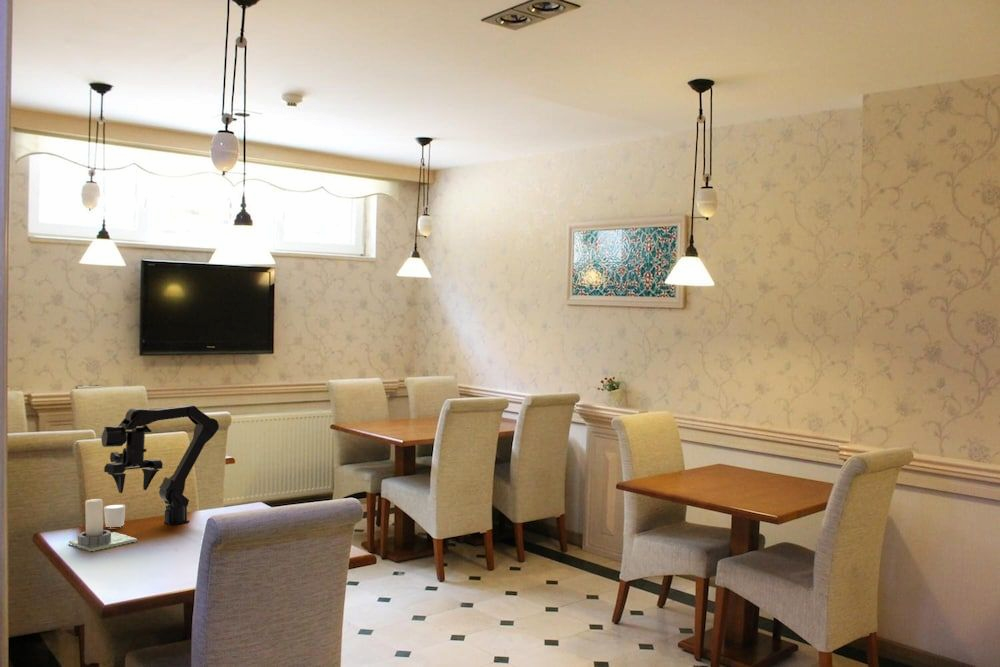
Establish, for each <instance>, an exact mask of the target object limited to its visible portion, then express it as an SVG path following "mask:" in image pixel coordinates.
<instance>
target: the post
mask: <svg viewBox="0 0 1000 667" xmlns="http://www.w3.org/2000/svg"><path fill="white" fill-rule="evenodd" d="M84 501H85V503H84V504H85V505H84V507H85V508H84V509H85V511H84V512H85V532H86V536H90V537H91V536H99V535H103V530H104V505H103V504H104V500H103V499H101V498H91V499H87V500H84Z"/></svg>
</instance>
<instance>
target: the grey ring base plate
mask: <svg viewBox="0 0 1000 667" xmlns="http://www.w3.org/2000/svg"><path fill="white" fill-rule="evenodd" d="M136 541H138V538H136V537H132V536H130V535H126V534H123V533H119V532H116V531H112V532H111V530H108V529H103V535H99V536H91V537H90V536H86V531H83V532H80V533H78V534H77V539H74V540H69V541H68V544H69V543H70V544H72V545H75V546H77V547H76V548H78V547H80V548H79V549H81V548H83V549H82V550H84V549H86V550H88V551H87V552H89V551H93V552H96V551H95V550H98V551H100V550H99V549H102V550H105V549H104V548H107V549H110V548H109V547H111V548H114V547H113V546H116V547H120V546H123V545H122V544H125V545H128V544H127V543H129V544H132V543H131V542H134V543H137V542H136ZM72 545H71V546H72ZM119 545H120V546H119ZM75 546H74V547H75ZM86 550H85V551H86Z"/></svg>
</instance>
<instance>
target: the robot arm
mask: <svg viewBox="0 0 1000 667" xmlns="http://www.w3.org/2000/svg"><path fill="white" fill-rule="evenodd" d="M180 418H188V419H189V420H190V421H191V423H193V424H194V425H195V427H194V429H193V436H192V439H191V442H190V443H189V445H188V447H187V448H186V451H185V453H184V454H183V456H182V458H181V460H180V461H179V463H178V464H177V466H176V469H175V471H174V472H173V474H172V475H171V476H169V477H164V478H163V480H162V483H161V485H159V486H158V489H159V490H158V493H159V498H160V499H162V500H163V501H164V504H166V505H165V510H164V520H163V522H165V523H164V524H167V523H168V525H170V524H172V525H171V526H175V525H174V524H177V525H180V524H179V523H181V524H185V523H184V522H186V523H189V522H190V519H188V515H187V514H188V505H189V502H190V499H189V498H188V497H186V496H185V495H184V492H185V489H186V488H185V487H186V480H187V479H188V476H189V475H190V472H191V471H192V469H193V467H194V465H195V463H196V461H197V460H198V458H199V456H200V454H201V452H202V450H203V449H204V447H205V445H206V443H208V442H209V441H210V440H211V439H212V438H213V437H214V436H215V434H217V432H218V431H219V428H220V425H219V421H218V420H217V419H215V418H212V417H209V416H208V415H207V414H205V413H204V412H203V411H201V410H200V409H198V407H196V405H192V404H187V405H183V406H182V405H181V406H174V407H165V408H155V409H151V408H150V409H149V408H137V407H134V408H130V409H129V410H128V411H127V412H126V414H125V418H123V420H122V421H121V422H120V424H118V426H109V425H106V426H105V425H104V427H103V428H104V430H103V432H102V435H101V438H100V439H101V444H102V447H104V448H107V447H108V448H112V447H115V448H116V447H122V446H123V445H125V447H124V448H123V449H122V452H121V453H119V452H118V451H113V452H111V453H110V456H109V460H110V463H106V464H105V465H104V469H103V471H104V473H107V474H108V475H111V477H113V479H114V481H115V484H116V487H117V491H118V493H119V494H123V491H124V487H125V480H126V473H124V472H125V471H127V470H128V471H129V470H137V469H141V471H142V473H143V484H142V485H143V491H147V489H148V488H149V486H150V484H151V482H152V481H153V479H154V477H155V475H156V474H157V473H158V472H160V470H161V469H164V468H163V467H164V466H163V465H164V464H163V462H162V460H160V459H157V458H156V459H154V458H151V459H150V458H149V459H145V458H144V456H145V453H147V448H145V437H146V433H151V432H152V429H150V428H149V426H148V425H150V424H153V423H155V422H158V421H164V420H165V421H166V420H174V419H180Z"/></svg>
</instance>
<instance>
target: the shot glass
mask: <svg viewBox="0 0 1000 667" xmlns="http://www.w3.org/2000/svg"><path fill="white" fill-rule="evenodd" d="M125 515H126V505H125V504H120V503H119V504H118V503H117V504H109V505H105V506H103V516H104V522H105V523H104V524H105V528H106V527H110V528H109V529H112V528H111V527H120V528H122V527H121V526H123V525H124V526H125ZM124 526H123V527H124Z"/></svg>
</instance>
